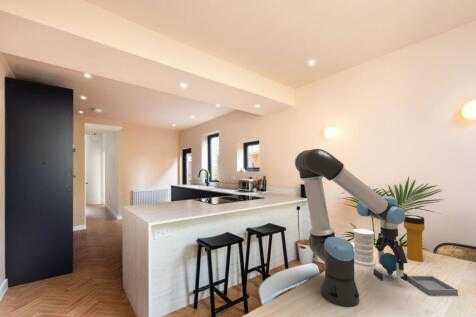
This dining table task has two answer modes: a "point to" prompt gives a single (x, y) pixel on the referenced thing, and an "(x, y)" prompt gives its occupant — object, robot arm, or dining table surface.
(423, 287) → the parts tray
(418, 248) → the flashlight
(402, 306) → the dining table surface
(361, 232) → the decorative container
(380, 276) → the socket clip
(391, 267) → the light bulb
